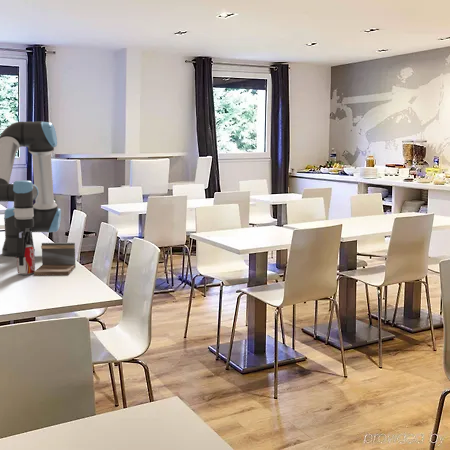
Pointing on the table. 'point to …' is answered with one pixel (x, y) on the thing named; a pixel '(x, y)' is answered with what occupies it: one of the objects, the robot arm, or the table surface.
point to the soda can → (28, 260)
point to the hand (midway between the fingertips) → (26, 270)
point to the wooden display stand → (57, 259)
